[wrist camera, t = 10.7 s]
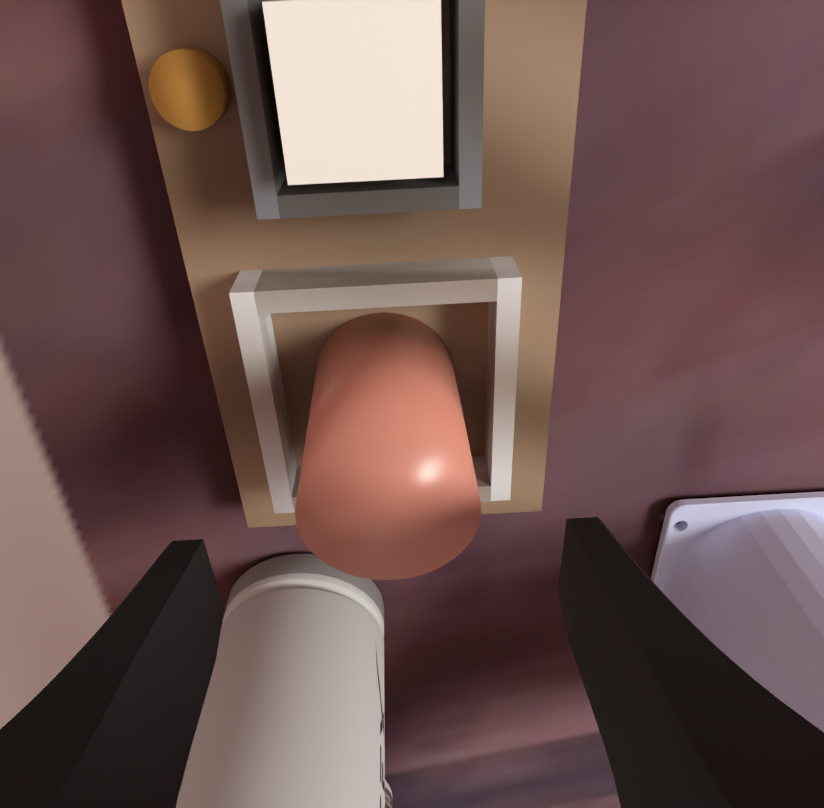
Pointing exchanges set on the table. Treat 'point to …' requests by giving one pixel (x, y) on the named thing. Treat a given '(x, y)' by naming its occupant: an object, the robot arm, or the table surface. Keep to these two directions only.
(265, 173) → the board
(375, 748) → the travel mug
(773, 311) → the table surface
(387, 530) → the cap
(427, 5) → the block
